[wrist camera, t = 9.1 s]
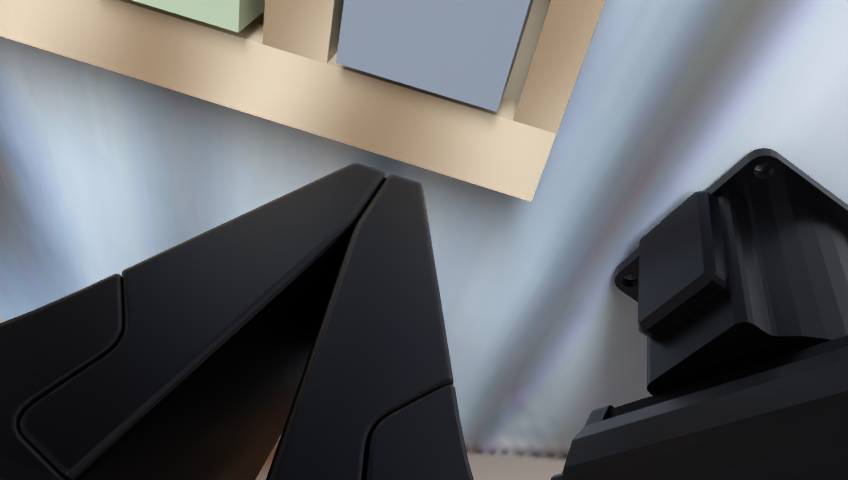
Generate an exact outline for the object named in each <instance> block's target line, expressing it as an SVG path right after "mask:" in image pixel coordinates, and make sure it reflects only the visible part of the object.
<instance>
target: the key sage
mask: <svg viewBox="0 0 848 480" xmlns="http://www.w3.org/2000/svg"><path fill="white" fill-rule="evenodd" d="M132 1H136V2H139V3H142V4H146V5H149V6H152V7H155V8H159V9H162V10H165V11H169V12H172V13H175V14H178V15H182V16H185V17H188V18H192V19H195V20H198V21H201V22H205V23H208V24H211V25H215V26H218V27H221V28H224V29H228V30H231V31H234V32H238V33H239V32H240V31H241V30H242V29H243V28H245V27H246V26H247V25H248V24H249V23H251V22H252V21H253V20H254V19H255V18H257V17H258V16H259V15H260V14H261V13H263V12H264V8H265V0H132Z"/></svg>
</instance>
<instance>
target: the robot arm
mask: <svg viewBox="0 0 848 480" xmlns="http://www.w3.org/2000/svg"><path fill="white" fill-rule="evenodd" d="M761 163H768V164H771V166H770V168H769V169H767V170H765V171H757V170H755V167H756V166H757V165H759V164H761ZM627 275H632V276H635V277H636V278H635V279H633V280H629V279H626V278H625V276H627ZM615 284H616V286H617V287H618V288H619V289H620V290H621V291H622V292H624V293H625V294H627V295H628V296H630V297H631V298H633V299H634V300H636V301H637V302H638V327H639V331H640V332H641V333H642V334H644V335H645V336H647V390H648V391H649V393H650V394H652V395H653V396H651V397H648V398H644V399H641V400H638V401H635V402H631V403H628V404H625V405H622V406H619V407H615V408H614V407H613V406H611V405H609V406H606V407H603V408H599V409H596V410H593V411H592V413H591V415H590V417H589V419H588V421H587V423H586V425H585V427H584V429H583V430H582V431H581V432H580V433H579V434H578V435H577V436H576V437H575V438H574V439H573V441H572V444H571V447H570V450H569V453H568V456H567V459H566V463H565V466H564V470H563V472H562V473H561V474H558V475H554V476H553V477H552V478H551V480H848V205H847V204H846V203H844V202H843V201H842V200H840V199H839V198H838V197H836V196H835V195H834V194H832V193H831V192H830V191H828V190H827V189H826V188H824V187H823V186H822V185H820V184H819V183H818V182H816V181H815V180H814V179H812V178H811V177H809V176H808V175H807V174H805V173H804V172H803V171H801V170H800V169H799V168H797V167H796V166H795V165H793V164H792V163H791V162H789V161H788V160H787V159H785V158H784V157H783V156H781V155H780V154H779V153H777V152H776V151H774V150H771V149H766V148H761V149H757V150H754V151H753V152H751V153H749V154H748V155H747V156H746V157H744V158H743V159H742V160H741V161H740V162H739V163H737V164H736V165H735V166H734V167H733V168H732V169H730V170H729V171H728V172H727V173H726V174H725V175H724V176H722V177H721V178H720V179H719V180H718V181H717V182H715V183H714V184H713V185H712V186H711V187H710V188H708V189H707V190H704V191H699V192H695V193H694V194H693V195H691V196H690V197H689V198H688V199H687V200H686V201H685V202H683V203H682V204H681V205H680V206H679V207H678V208H677V209H675V210H674V211H673V212H672V213H671V214H670V215H668V216H667V217H666V218H665V219H664V220H663V221H662V222H660V223H659V224H658V225H657V226H656V227H655V228H653V229H652V230H651V231H650V232H649V233H648V234H647V235H645V236H644V237H643V238H642V239H641V240H640V247H639V249H637V250H636V251H635V252H634V253H633V254H632V255H630V256H629V257H628V258H627V259H626V260H625V261H623V262H622V263H621V264H620V265H619V266H618V267H617V268H616V271H615ZM281 434H282V435H281ZM280 435H281V438H280V440H279V443H278V446H277V449H276V452H275V455H274V458H273V461H272V464H271V467H270V469H269V472H268V475H267V478H266V480H473V476H472V473H471V469H470V465H469V462H468V457H467V452H466V447H465V442H464V437H463V432H462V427H461V422H460V417H459V411H458V405H457V398H456V392H455V388H454V386H453V375H452V369H451V363H450V356H449V350H448V344H447V337H446V331H445V325H444V318H443V312H442V305H441V299H440V293H439V286H438V280H437V274H436V267H435V261H434V255H433V248H432V242H431V235H430V229H429V223H428V216H427V210H426V204H425V197H424V191H423V187H422V185H421V184H420V183H419V182H416V181H412V180H409V179H406V178H403V177H399V176H396V175H390V176H388V177H387V176H386V174H385V172H383V171H380V170H377V169H374V168H371V167H368V166H365V165H361V164H358V163H354V164H351V165H348V166H346V167H344V168H342V169H340V170H338V171H335V172H333V173H331V174H329V175H327V176H325V177H323V178H320V179H318V180H316V181H314V182H312V183H310V184H308V185H305V186H303V187H301V188H299V189H297V190H295V191H293V192H290V193H288V194H286V195H284V196H282V197H280V198H278V199H275V200H273V201H271V202H269V203H267V204H265V205H262V206H260V207H258V208H256V209H254V210H252V211H250V212H247V213H245V214H243V215H241V216H239V217H237V218H235V219H232V220H230V221H228V222H226V223H224V224H222V225H220V226H217V227H215V228H213V229H211V230H209V231H207V232H205V233H202V234H200V235H198V236H196V237H194V238H192V239H190V240H187V241H185V242H183V243H181V244H179V245H177V246H175V247H172V248H170V249H168V250H166V251H164V252H162V253H160V254H157V255H155V256H153V257H151V258H149V259H147V260H144V261H142V262H140V263H138V264H136V265H134V266H132V267H129V268H127V269H125V270H124V271H123V272H122V277H121V275H119V274H114V275H112V276H110V277H107V278H105V279H103V280H101V281H99V282H97V283H94V284H92V285H90V286H88V287H86V288H84V289H81V290H79V291H77V292H75V293H72V294H70V295H68V296H65V297H63V298H61V299H59V300H56V301H54V302H52V303H49V304H47V305H45V306H43V307H40V308H38V309H36V310H33V311H31V312H28V313H26V314H23V315H21V316H18V317H15V318H13V319H10V320H8V321H5V322H2V323H0V480H255V479H256V477H257V476H258V474H259V472H260V470H261V469H262V467H263V465H264V463H265V462H266V460H267V458H268V456H269V455H270V452H271V451H272V449H273V448H274V446H275V444H276V442H277V441H278V439H279V437H280Z"/></svg>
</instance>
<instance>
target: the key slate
mask: <svg viewBox="0 0 848 480" xmlns="http://www.w3.org/2000/svg"><path fill="white" fill-rule="evenodd" d="M532 3H533V0H344V4H343V12H342V20H341V27H340V35H339V43H338V50H337V58H336V63H337V64H341V65H344V66H347V67H350V68H354V69H357V70H360V71H364V72H367V73H370V74H373V75H377V76H380V77H383V78H387V79H390V80H393V81H396V82H400V83H403V84H406V85H410V86H413V87H416V88H419V89H423V90H426V91H429V92H433V93H436V94H439V95H442V96H446V97H449V98H452V99H456V100H459V101H462V102H465V103H469V104H472V105H475V106H479V107H482V108H485V109H488V110H492V111H495V112H497V110H498V108H499V105H500V102H501V99H502V97H503V94H504V91H505V88H506V86H507V83H508V80H509V77H510V75H511V72H512V69H513V66H514V63H515V59H516V56H517V53H518V49H519V46H520V43H521V40H522V36H523V33H524V30H525V26H526V23H527V20H528V16H529V13H530V10H531V6H532Z"/></svg>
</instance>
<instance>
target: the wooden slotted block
mask: <svg viewBox="0 0 848 480" xmlns="http://www.w3.org/2000/svg"><path fill="white" fill-rule="evenodd" d="M605 1H606V0H533V3H532V6H531V10H530V13H529V16H528V20H527V23H526V26H525V30H524V33H523V36H522V40H521V43H520V46H519V49H518V53H517V56H516V59H515V63H514V66H513V69H512V72H511V75H510V77H509V80H508V83H507V86H506V88H505V91H504V94H503V97H502V99H501V102H500V105H499V108H498V110H497V112H495V111H492V110H488V109H485V108H482V107H479V106H475V105H472V104H469V103H465V102H462V101H459V100H456V99H452V98H449V97H446V96H442V95H439V94H436V93H433V92H429V91H426V90H423V89H419V88H416V87H413V86H410V85H406V84H403V83H400V82H396V81H393V80H390V79H387V78H383V77H380V76H377V75H373V74H370V73H367V72H364V71H360V70H357V69H354V68H350V67H347V66H344V65H341V64H337V63H336V58H337V50H338V43H339V35H340V27H341V20H342V12H343V4H344V0H265V8H264V12H263V13H261V14H260V15H259V16H258V17H257V18H255V19H254V20H253V21H252V22H251V23H249V24H248V25H247V26H246V27H245V28H243V29H242V30H241V31H240V32H239V33H238V32H234V31H231V30H228V29H224V28H221V27H218V26H215V25H211V24H208V23H205V22H201V21H198V20H195V19H192V18H188V17H185V16H182V15H178V14H175V13H172V12H169V11H165V10H162V9H159V8H155V7H152V6H149V5H146V4H142V3H139V2H136V1H132V0H0V36H1V37H4V38H8V39H11V40H14V41H17V42H21V43H24V44H27V45H30V46H33V47H37V48H40V49H43V50H46V51H49V52H53V53H56V54H59V55H62V56H65V57H69V58H72V59H75V60H78V61H81V62H85V63H88V64H91V65H94V66H97V67H101V68H104V69H107V70H110V71H113V72H117V73H120V74H123V75H126V76H129V77H133V78H136V79H139V80H142V81H146V82H149V83H152V84H155V85H158V86H162V87H165V88H168V89H171V90H174V91H178V92H181V93H184V94H187V95H190V96H194V97H197V98H200V99H203V100H206V101H210V102H213V103H216V104H219V105H222V106H226V107H229V108H232V109H235V110H238V111H242V112H245V113H248V114H251V115H254V116H258V117H261V118H264V119H267V120H271V121H274V122H277V123H280V124H283V125H287V126H290V127H293V128H296V129H299V130H303V131H306V132H309V133H312V134H315V135H319V136H322V137H325V138H328V139H331V140H335V141H338V142H341V143H344V144H347V145H351V146H354V147H357V148H360V149H363V150H367V151H370V152H373V153H376V154H379V155H383V156H386V157H389V158H392V159H395V160H399V161H402V162H405V163H408V164H412V165H415V166H418V167H421V168H424V169H428V170H431V171H434V172H437V173H440V174H444V175H447V176H450V177H453V178H456V179H460V180H463V181H466V182H469V183H472V184H476V185H479V186H482V187H485V188H488V189H492V190H495V191H498V192H501V193H504V194H508V195H511V196H514V197H517V198H520V199H524V200H527V201H530V202H532V199H533V196H534V194H535V191H536V188H537V185H538V183H539V180H540V177H541V175H542V172H543V169H544V166H545V164H546V161H547V158H548V156H549V153H550V150H551V147H552V145H553V142H554V139H555V137H556V134H557V131H558V128H559V126H560V123H561V120H562V117H563V115H564V112H565V109H566V107H567V104H568V101H569V98H570V96H571V93H572V90H573V88H574V85H575V82H576V79H577V77H578V74H579V71H580V69H581V66H582V63H583V60H584V58H585V55H586V52H587V50H588V47H589V44H590V41H591V39H592V36H593V33H594V31H595V28H596V25H597V22H598V20H599V17H600V14H601V11H602V9H603V6H604V3H605Z"/></svg>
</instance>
